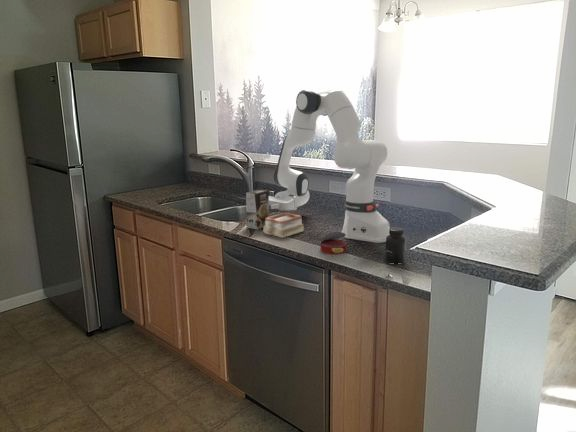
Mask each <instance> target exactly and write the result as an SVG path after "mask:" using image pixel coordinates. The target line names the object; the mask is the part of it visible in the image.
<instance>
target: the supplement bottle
mask: <svg viewBox="0 0 576 432" xmlns="http://www.w3.org/2000/svg"><path fill="white" fill-rule="evenodd" d="M404 231H405V230H404V228H403V227H398V226H391V227H390V229H389V234H390V235H388V236H387V237H386V242H385V245H384V247H385V250H384V262H385V263H387V262H388V263H387V264H389V263H394V264H398V263H403V262H404V263H405V261H406V260H405V258H406V246H407V238H406V237H405V236H404V234H405V232H404ZM404 263H403V264H404Z"/></svg>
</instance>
